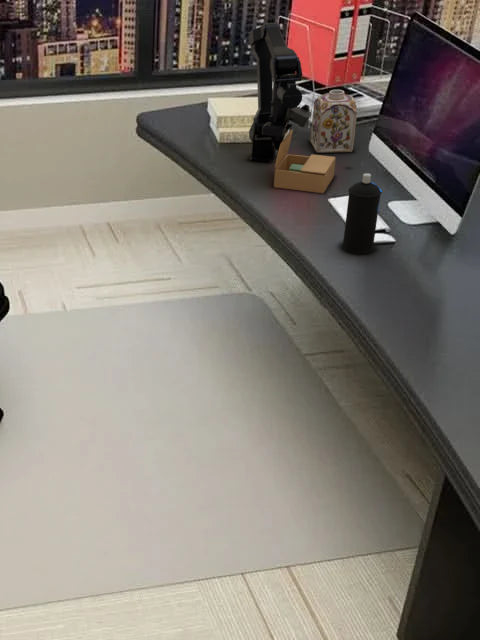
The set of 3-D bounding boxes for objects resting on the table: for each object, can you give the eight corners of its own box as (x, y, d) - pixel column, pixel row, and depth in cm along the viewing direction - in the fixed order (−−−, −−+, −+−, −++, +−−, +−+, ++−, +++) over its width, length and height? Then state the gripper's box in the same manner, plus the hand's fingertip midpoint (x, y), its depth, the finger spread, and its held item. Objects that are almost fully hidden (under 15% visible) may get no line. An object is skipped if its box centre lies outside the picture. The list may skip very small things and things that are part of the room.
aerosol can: (355, 257, 257) (365, 183, 245) (335, 245, 263) (343, 172, 251) (380, 249, 260) (391, 176, 248) (359, 238, 266) (368, 166, 254)
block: (300, 182, 298) (301, 169, 296) (287, 181, 300) (288, 168, 297) (304, 178, 301) (305, 165, 299) (291, 176, 303) (292, 163, 300)
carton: (273, 187, 297) (275, 167, 294) (285, 170, 307) (287, 151, 304) (323, 193, 292) (325, 173, 288) (333, 176, 302) (335, 156, 299)
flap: (275, 167, 294) (274, 167, 294) (287, 152, 304) (286, 151, 304) (281, 144, 289) (280, 144, 289) (293, 129, 300) (292, 129, 300)
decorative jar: (353, 152, 318) (359, 96, 308) (316, 154, 318) (321, 97, 308) (345, 139, 328) (351, 85, 318) (309, 141, 328) (314, 86, 318)
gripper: (301, 110, 279) (296, 163, 288) (317, 91, 293) (312, 142, 302) (262, 106, 283) (259, 159, 292) (280, 87, 297) (276, 138, 306)
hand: (278, 150), depth 298 cm, fingers closed
